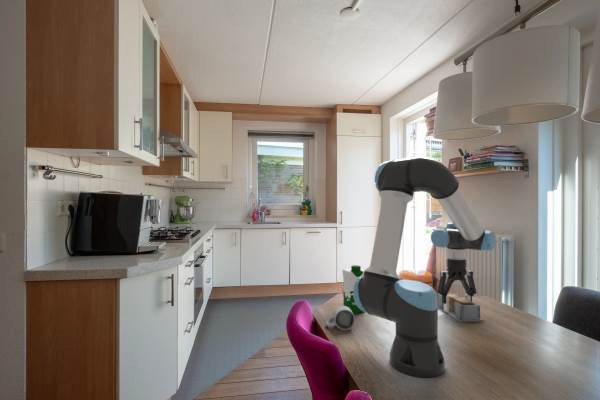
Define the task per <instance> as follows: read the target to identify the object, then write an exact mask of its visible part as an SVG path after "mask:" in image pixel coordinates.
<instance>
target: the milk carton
mask: <svg viewBox="0 0 600 400" xmlns="http://www.w3.org/2000/svg"><path fill="white" fill-rule="evenodd" d="M350 267H351V268H342V270H341V271H342V281H343V283H342V284H343V292H342V293H343V295H342V296H343V305H342V306H347V307H349V308H350V309H351V311H352V312H353V314H361V313H365V312H364V311H362V310H360V309H359V308H358V307H357V305H356V303H355V301H354V297H353V288H354V284H355V282H356V281H358V278H359V277H361V276H364V271H365V269H364V270H363V269H361V267H362V266H361V265H356V264H355V265H351V266H350Z"/></svg>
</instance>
